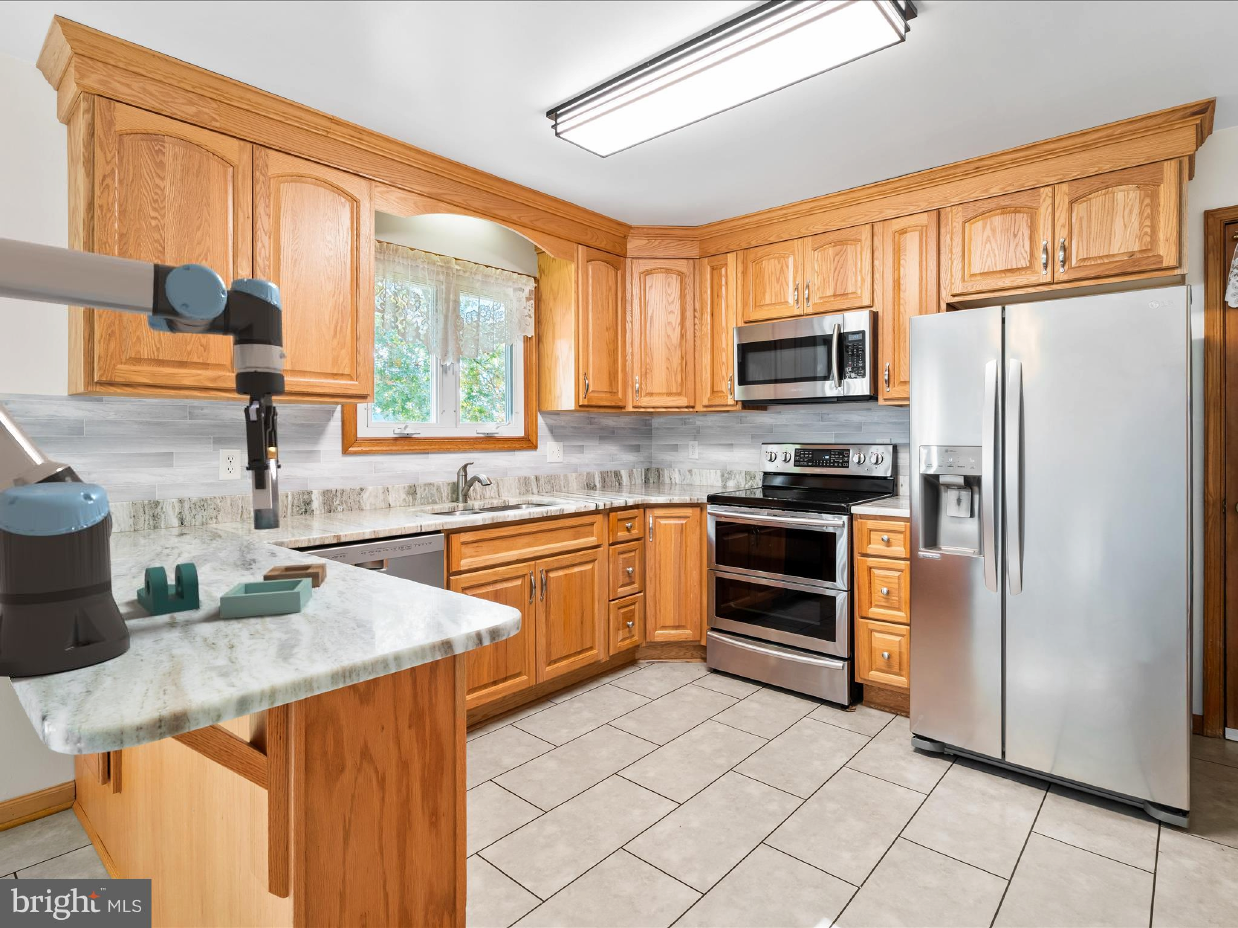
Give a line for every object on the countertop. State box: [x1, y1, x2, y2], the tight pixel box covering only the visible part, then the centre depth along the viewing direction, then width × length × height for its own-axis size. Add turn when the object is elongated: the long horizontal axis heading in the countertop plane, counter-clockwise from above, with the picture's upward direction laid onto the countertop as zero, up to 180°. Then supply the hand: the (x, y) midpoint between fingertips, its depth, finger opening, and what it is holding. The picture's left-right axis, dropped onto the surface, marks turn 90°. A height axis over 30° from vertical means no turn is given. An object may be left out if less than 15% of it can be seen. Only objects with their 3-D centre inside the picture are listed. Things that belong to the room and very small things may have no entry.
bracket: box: [136, 562, 201, 617], centre depth 122 cm, size 18×7×8 cm, turn 44°
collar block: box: [262, 562, 328, 588], centre depth 137 cm, size 10×10×3 cm
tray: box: [219, 578, 313, 619], centre depth 118 cm, size 12×12×4 cm
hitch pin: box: [251, 447, 281, 531], centre depth 117 cm, size 4×4×14 cm
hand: (265, 507), depth 117 cm, fingers closed on hitch pin, 4 cm apart
